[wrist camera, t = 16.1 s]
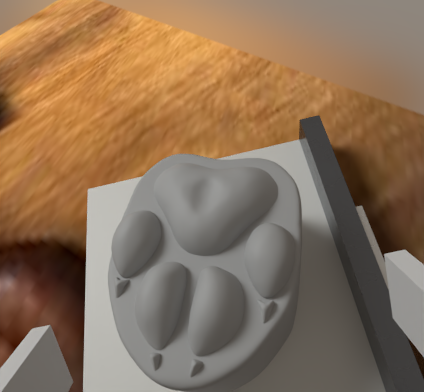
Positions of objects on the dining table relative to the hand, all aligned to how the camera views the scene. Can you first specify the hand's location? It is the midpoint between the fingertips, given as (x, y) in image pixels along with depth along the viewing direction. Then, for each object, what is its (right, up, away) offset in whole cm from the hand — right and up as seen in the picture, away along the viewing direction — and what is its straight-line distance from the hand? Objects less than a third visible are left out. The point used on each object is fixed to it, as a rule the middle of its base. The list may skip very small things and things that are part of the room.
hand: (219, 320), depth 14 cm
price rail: (+9, 0, +11) cm, 14 cm away
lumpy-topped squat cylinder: (0, -2, +12) cm, 12 cm away
